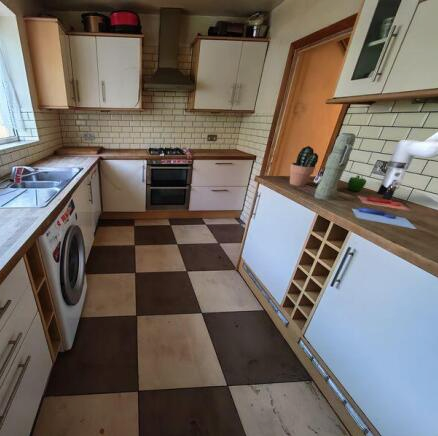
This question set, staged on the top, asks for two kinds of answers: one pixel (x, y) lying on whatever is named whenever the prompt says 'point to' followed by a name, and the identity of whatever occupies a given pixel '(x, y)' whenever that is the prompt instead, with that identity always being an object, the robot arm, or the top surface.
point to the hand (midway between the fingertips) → (383, 196)
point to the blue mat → (383, 219)
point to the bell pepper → (356, 183)
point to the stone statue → (335, 166)
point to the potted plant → (303, 166)
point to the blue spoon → (377, 212)
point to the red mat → (402, 206)
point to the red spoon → (383, 201)
